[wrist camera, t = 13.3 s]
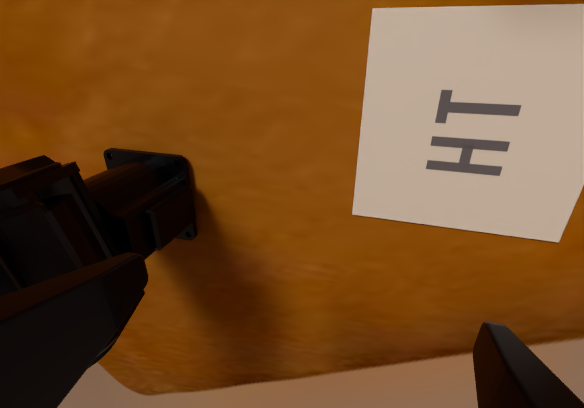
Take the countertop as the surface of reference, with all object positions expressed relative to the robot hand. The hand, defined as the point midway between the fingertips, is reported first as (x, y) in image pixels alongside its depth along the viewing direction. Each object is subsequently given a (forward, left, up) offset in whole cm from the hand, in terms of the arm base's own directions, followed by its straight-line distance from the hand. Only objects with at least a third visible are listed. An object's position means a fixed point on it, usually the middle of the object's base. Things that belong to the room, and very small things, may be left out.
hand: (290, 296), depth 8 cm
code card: (+6, +2, -12) cm, 14 cm away
